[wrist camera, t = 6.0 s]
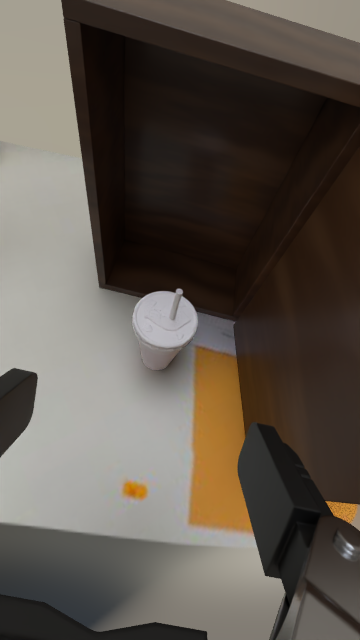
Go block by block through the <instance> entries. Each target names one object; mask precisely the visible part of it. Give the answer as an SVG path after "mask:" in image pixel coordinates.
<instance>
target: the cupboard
mask: <svg viewBox="0 0 360 640" xmlns="http://www.w3.org/2000/svg"><path fill="white" fill-rule="evenodd" d="M61 2H62V9H63V16H64V25H65V33H66V40H67V48H68V55H69V63H70V71H71V78H72V86H73V93H74V101H75V108H76V116H77V123H78V130H79V137H80V146H81V153H82V161H83V168H84V176H85V183H86V191H87V198H88V206H89V214H90V221H91V229H92V236H93V244H94V251H95V259H96V266H97V274H98V281H99V287H101V288H105V289H109V290H113V291H117V292H121V293H125V294H129V295H133V296H137V297H141V298H143V297H144V296H146V295H148V294H150V293H153V292H157V291H169V292H173V293H176V290H177V289H182V291H183V293H182V296H183V297H184V298H186V299H187V300H188V301H189V302H190V303H191V304H192V305H193V307H194V309H195V311H197V312H201V313H205V314H209V315H213V316H217V317H221V318H225V319H229V320H233V321H237V320H238V318H239V317H240V316H241V314H242V313H243V311H244V310H245V308H246V307H247V306H248V304H249V303H250V301H251V300H252V298H253V297H254V296H255V294H256V293H257V291H258V290H259V289H260V287H261V286H262V284H263V283H264V281H265V280H266V279H267V277H268V276H269V274H270V273H271V272H272V270H273V269H274V267H275V266H276V264H277V263H278V262H279V260H280V259H281V257H282V256H283V254H284V253H285V252H286V250H287V249H288V247H289V246H290V245H291V243H292V242H293V240H294V239H295V237H296V236H297V235H298V233H299V232H300V230H301V229H302V227H303V226H304V225H305V223H306V222H307V220H308V219H309V218H310V216H311V215H312V213H313V212H314V210H315V209H316V208H317V206H318V205H319V203H320V202H321V201H322V199H323V198H324V196H325V195H326V193H327V192H328V191H329V189H330V188H331V186H332V185H333V183H334V182H335V181H336V179H337V178H338V176H339V175H340V174H341V172H342V171H343V169H344V168H345V166H346V165H347V164H348V162H349V161H350V159H351V158H352V157H353V155H354V154H355V152H356V151H357V149H358V148H359V147H360V43H358V42H355V41H352V40H349V39H346V38H343V37H340V36H336V35H333V34H330V33H327V32H324V31H321V30H318V29H314V28H311V27H308V26H305V25H302V24H298V23H296V22H292V21H289V20H286V19H283V18H280V17H277V16H273V15H270V14H267V13H264V12H261V11H258V10H254V9H251V8H248V7H245V6H242V5H239V4H236V3H232V2H229V1H226V0H61Z"/></svg>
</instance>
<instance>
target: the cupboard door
mask: <svg viewBox="0 0 360 640" xmlns="http://www.w3.org/2000/svg"><path fill="white" fill-rule="evenodd" d="M234 334H235V343H236V352H237V361H238V370H239V379H240V389H241V398H242V407H243V416H244V425H245V434H246V435H247V433H248V430H249V427H250V425H251V423H253V422H257V423H261V424H266V425H270V426H274V427H275V429H276V431H277V432H278V434H279V436H280V438H281V440H282V442H283V443H286V444H287V445H288V446H289V447H290V448H291V449H293V450H294V451H295V452H296V453H297V454H298V456H299V458H300V459H301V461H302V463H303V464H304V466H305V469H306V470H307V471H308V473H309V475H310V476H311V479H312V480H313V481H314V483H315V485H316V486H317V488H318V490H319V492H320V493H321V495H322V497H323V498H324V500H325V501H332V502H341V503H350V504H360V147H359V148H358V149H357V151H356V152H355V154H354V155H353V157H352V158H351V159H350V161H349V162H348V164H347V165H346V166H345V168H344V169H343V171H342V172H341V174H340V175H339V176H338V178H337V179H336V181H335V182H334V183H333V185H332V186H331V188H330V189H329V191H328V192H327V193H326V195H325V196H324V198H323V199H322V201H321V202H320V203H319V205H318V206H317V208H316V209H315V210H314V212H313V213H312V215H311V216H310V218H309V219H308V220H307V222H306V223H305V225H304V226H303V227H302V229H301V230H300V232H299V233H298V235H297V236H296V237H295V239H294V240H293V242H292V243H291V245H290V246H289V247H288V249H287V250H286V252H285V253H284V254H283V256H282V257H281V259H280V260H279V262H278V263H277V264H276V266H275V267H274V269H273V270H272V272H271V273H270V274H269V276H268V277H267V279H266V280H265V281H264V283H263V284H262V286H261V287H260V289H259V290H258V291H257V293H256V294H255V296H254V297H253V298H252V300H251V301H250V303H249V304H248V306H247V307H246V308H245V310H244V311H243V313H242V314H241V316H240V317H239V318H238V320H237V321H236V323H235V324H234Z"/></svg>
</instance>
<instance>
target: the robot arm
mask: <svg viewBox="0 0 360 640" xmlns="http://www.w3.org/2000/svg"><path fill="white" fill-rule="evenodd" d="M37 379H38V377H37V374H36V373H34V372H29V371H25V370H20V369H16V368H13V369H11V370H10V371H8V372H7V373H5V374H4V375H2V376H1V377H0V457H1V456H2V455H3V454H4V453H5V451H6V450H7V449H8V448H9V447H10V446H11V445H12V444H13V442H14V441H15V440H16V439H17V438H18V437H19V436H20V435H21V433H22V432H23V431H24V430H25V429H26V427H27V426H28V424H29V422H30V420H31V417H32V414H33V408H34V401H35V394H36V387H37ZM238 476H239V479H240V483H241V487H242V491H243V494H244V498H245V502H246V506H247V509H248V513H249V517H250V521H251V525H252V528H253V532H254V536H255V540H256V543H257V547H258V551H259V555H260V558H261V562H262V566H263V570H264V573H265V576H269V577H274V578H280V579H281V580H282V583H283V586H284V589H285V595H284V597H283V599H282V602H281V605H280V608H279V611H278V614H277V617H276V621H275V624H274V627H273V630H272V633H271V636H270V639H269V640H360V531H359V530H358V529H356V528H355V527H354V526H352V525H351V524H349V523H348V522H346V521H344V520H342V519H340V518H338V517H335V516H334V515H333V513H332V512H331V510H330V508H329V507H328V505H327V503H326V502H325V500H324V498H323V497H322V495H321V493H320V492H319V490H318V488H317V486H316V485H315V483H314V481H313V480H312V479H311V476H310V475H309V473H308V471H307V470H306V469H305V466H304V464H303V463H302V461H301V459H300V458H299V456H298V454H297V453H296V452H295V451H294V450H293V449H291V448H290V447H289V446H288V445H287V444H286V443H283V442H282V440H281V438H280V436H279V434H278V432H277V431H276V429H275V427H274V426H270V425H266V424H261V423H257V422H253V423H251V425H250V427H249V430H248V433H247V435H246V438H245V441H244V444H243V447H242V450H241V453H240V455H239V459H238ZM0 640H207V632H206V631H201V630H195V629H190V628H184V627H179V626H173V625H168V624H162V623H156V622H154V623H149V624H143V625H138V626H131V627H126V628H120V629H115V630H109V631H103V632H96V631H93V630H91V629H89V628H87V627H85V626H84V625H82V624H80V623H79V622H77V621H75V620H73V619H72V618H70V617H68V616H67V615H65V614H63V613H62V612H60V611H58V610H57V609H55V608H53V607H51V606H50V605H48V604H46V603H44V602H39V601H33V600H28V599H22V598H17V597H11V596H6V595H0Z"/></svg>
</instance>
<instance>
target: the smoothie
mask: <svg viewBox="0 0 360 640" xmlns="http://www.w3.org/2000/svg"><path fill="white" fill-rule="evenodd" d="M182 293H183V291H182V289H177V290H176V293H173V292H169V291H157V292H153V293H150V294H148V295H146V296H144V297H143V298H142V299H141V300H140V301H139V302H138V303H137V305H136V306H135V309H134V312H133V316H132V327H133V330H134V333H135V335H136V336H137V338H138V341H139V347H140V352H141V357H142V361H143V363H144V365H145V366H146V367H148V368H149V369H152V370H161V369H164V368H165V367H167V366H168V364H169V363H170V362H171V361H172V359H173V358H174V357H175V356H176V354H177V353H178V352H179V351H180V349H181V348H183V347H185V346H187V345H188V344H189V343H190V342H191V341H192V339H193V337H194V335H195V333H196V330H197V326H198V317H197V313H196V311H195V309H194V307H193V305H192V304H191V303H190V302H189V301H188V300H187V299H186V298H184V297H183V296H182Z"/></svg>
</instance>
